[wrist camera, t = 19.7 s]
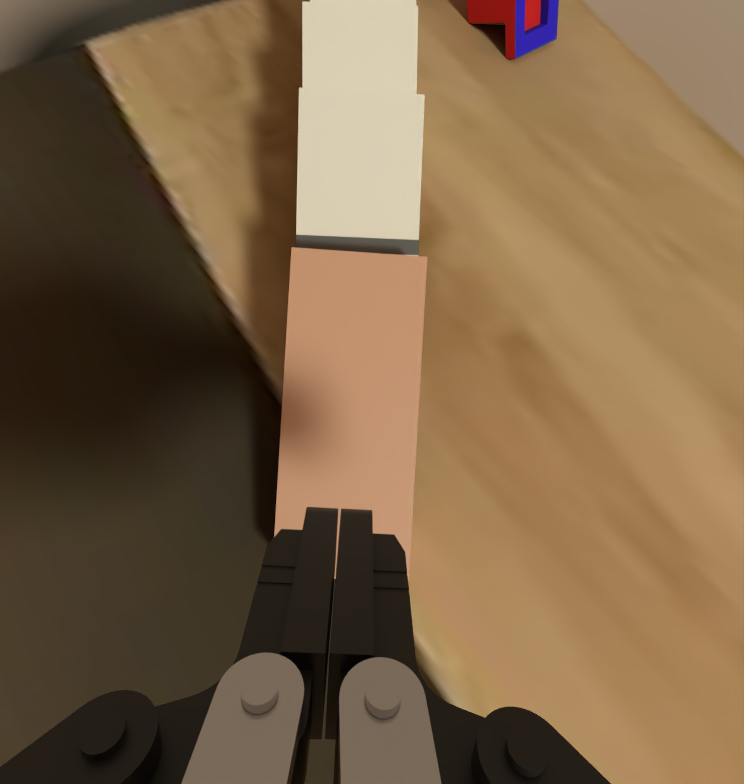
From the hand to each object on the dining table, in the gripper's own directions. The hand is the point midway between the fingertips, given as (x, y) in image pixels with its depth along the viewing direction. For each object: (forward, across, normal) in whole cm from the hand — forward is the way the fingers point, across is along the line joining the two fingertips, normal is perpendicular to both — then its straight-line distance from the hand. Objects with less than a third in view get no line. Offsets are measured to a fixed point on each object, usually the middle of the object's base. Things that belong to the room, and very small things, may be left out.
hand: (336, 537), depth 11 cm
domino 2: (+10, 0, +1) cm, 10 cm away
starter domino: (+5, 0, +6) cm, 8 cm away
